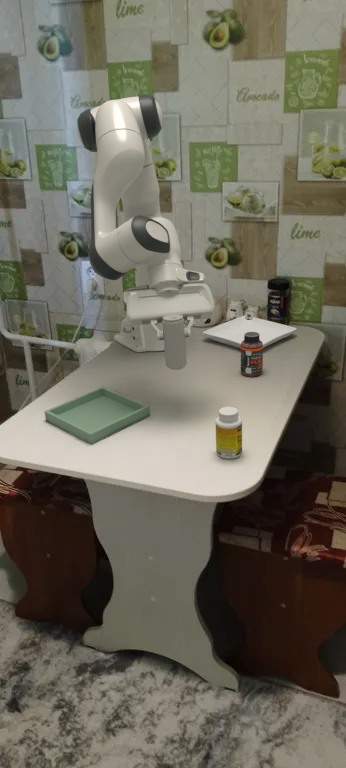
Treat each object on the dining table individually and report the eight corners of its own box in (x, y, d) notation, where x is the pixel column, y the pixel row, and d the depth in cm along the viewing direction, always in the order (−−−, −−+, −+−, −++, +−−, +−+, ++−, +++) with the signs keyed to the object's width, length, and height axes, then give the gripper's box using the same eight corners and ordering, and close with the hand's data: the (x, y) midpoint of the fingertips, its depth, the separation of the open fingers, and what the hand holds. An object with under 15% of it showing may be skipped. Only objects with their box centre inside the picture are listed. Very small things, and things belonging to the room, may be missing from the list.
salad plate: (298, 337, 200) (298, 326, 199) (255, 358, 187) (255, 347, 185) (244, 323, 214) (244, 314, 212) (201, 342, 200) (200, 332, 199)
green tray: (45, 420, 157) (44, 411, 156) (103, 395, 168) (102, 386, 167) (91, 444, 145) (90, 434, 144) (150, 415, 156) (149, 406, 155)
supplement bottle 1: (241, 460, 136) (240, 417, 131) (215, 459, 137) (213, 416, 132) (243, 447, 141) (242, 404, 136) (217, 446, 142) (216, 404, 137)
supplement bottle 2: (252, 379, 172) (252, 339, 168) (236, 373, 177) (235, 334, 172) (267, 372, 176) (267, 333, 171) (251, 366, 180) (250, 328, 175)
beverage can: (184, 371, 146) (180, 320, 141) (163, 370, 147) (159, 320, 142) (188, 362, 150) (185, 313, 145) (168, 362, 152) (165, 313, 147)
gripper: (121, 281, 146) (127, 336, 142) (210, 272, 148) (219, 327, 143) (122, 294, 152) (128, 348, 147) (208, 286, 154) (217, 339, 149)
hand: (174, 337), depth 145 cm, fingers closed on beverage can, 5 cm apart
